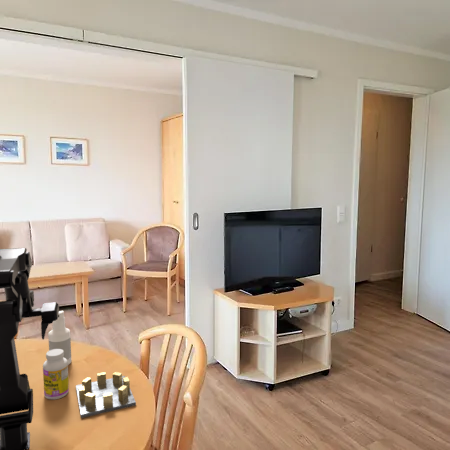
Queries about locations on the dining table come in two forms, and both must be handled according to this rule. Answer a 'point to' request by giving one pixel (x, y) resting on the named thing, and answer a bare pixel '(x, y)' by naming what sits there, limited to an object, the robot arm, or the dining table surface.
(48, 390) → the supplement bottle
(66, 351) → the spray bottle
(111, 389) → the grey tray with blocks
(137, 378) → the dining table surface
